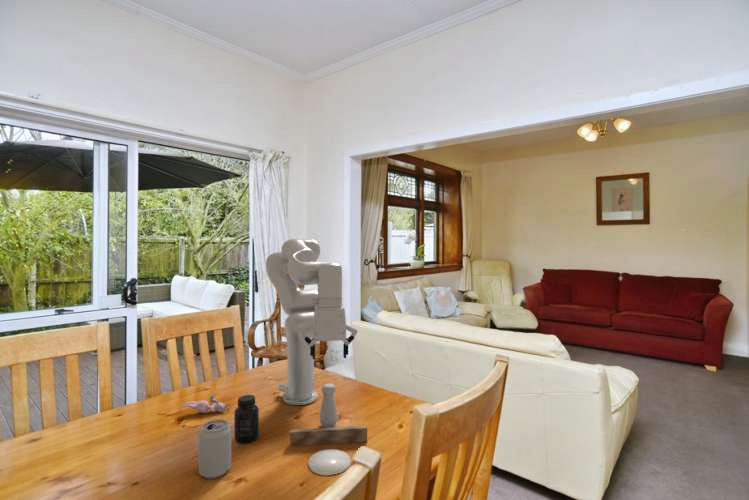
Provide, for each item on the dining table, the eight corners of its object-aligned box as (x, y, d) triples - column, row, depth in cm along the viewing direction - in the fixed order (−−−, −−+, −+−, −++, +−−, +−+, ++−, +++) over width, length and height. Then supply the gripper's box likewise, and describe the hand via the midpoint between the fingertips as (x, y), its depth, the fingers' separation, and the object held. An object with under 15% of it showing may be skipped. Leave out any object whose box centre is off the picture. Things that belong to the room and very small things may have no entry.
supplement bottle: (263, 434, 113) (263, 395, 113) (248, 446, 107) (249, 404, 107) (244, 430, 116) (244, 391, 115) (229, 441, 109) (229, 400, 109)
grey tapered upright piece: (339, 422, 122) (339, 382, 121) (335, 431, 116) (336, 389, 116) (321, 421, 122) (321, 381, 122) (317, 429, 117) (317, 388, 116)
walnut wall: (289, 446, 107) (290, 432, 107) (290, 443, 109) (290, 429, 108) (367, 441, 110) (367, 428, 110) (366, 438, 112) (366, 425, 111)
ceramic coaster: (300, 470, 96) (300, 469, 96) (319, 448, 106) (319, 446, 106) (341, 478, 93) (341, 477, 93) (356, 454, 103) (356, 453, 103)
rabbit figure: (230, 410, 132) (184, 407, 129) (233, 393, 132) (187, 389, 129) (227, 418, 126) (179, 415, 123) (230, 401, 126) (182, 397, 123)
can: (205, 463, 99) (205, 417, 98) (234, 461, 99) (234, 416, 99) (193, 481, 91) (193, 432, 91) (225, 480, 92) (226, 431, 92)
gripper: (300, 305, 113) (300, 362, 114) (358, 304, 116) (358, 360, 116) (302, 301, 121) (301, 354, 121) (356, 300, 123) (355, 353, 123)
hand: (329, 357), depth 118 cm, fingers open, 9 cm apart
